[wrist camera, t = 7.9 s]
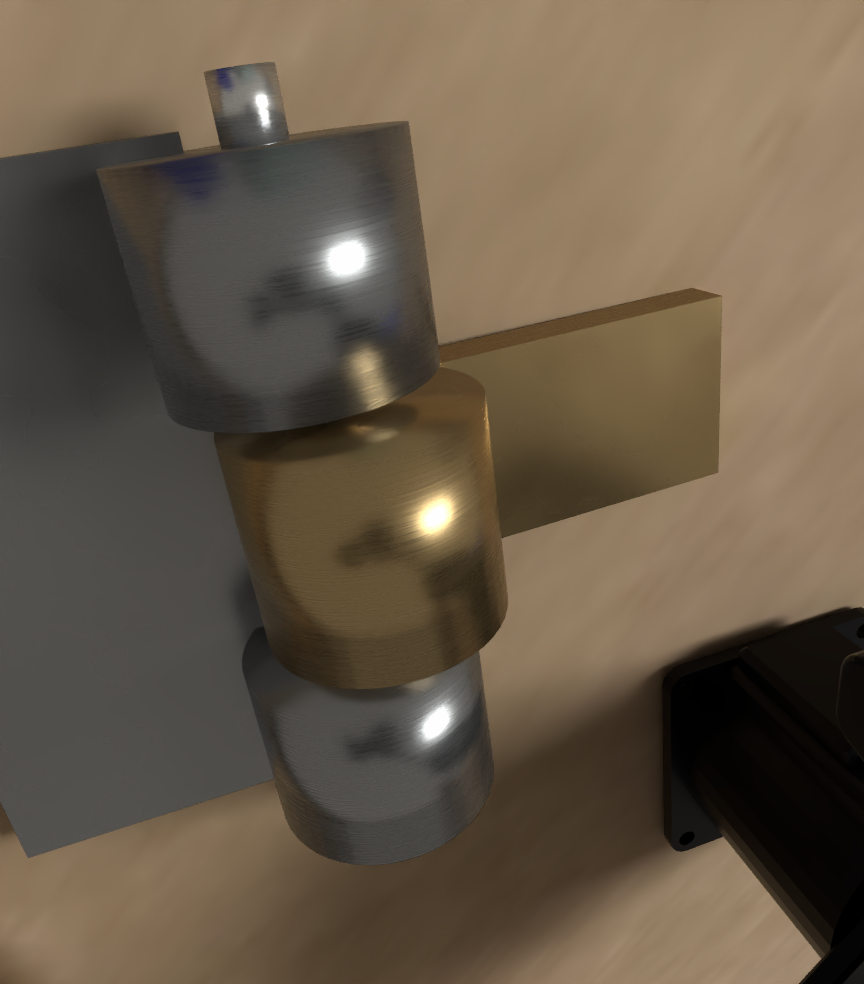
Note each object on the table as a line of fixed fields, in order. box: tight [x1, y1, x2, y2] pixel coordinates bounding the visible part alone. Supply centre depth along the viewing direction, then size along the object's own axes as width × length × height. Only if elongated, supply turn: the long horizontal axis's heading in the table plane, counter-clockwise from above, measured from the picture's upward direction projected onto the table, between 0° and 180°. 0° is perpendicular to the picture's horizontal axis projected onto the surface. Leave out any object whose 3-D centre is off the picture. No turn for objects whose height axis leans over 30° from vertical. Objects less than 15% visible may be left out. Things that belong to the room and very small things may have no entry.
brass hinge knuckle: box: [214, 288, 722, 689], centre depth 15 cm, size 4×10×4 cm, turn 98°
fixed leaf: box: [0, 62, 494, 865], centre depth 14 cm, size 14×10×4 cm
